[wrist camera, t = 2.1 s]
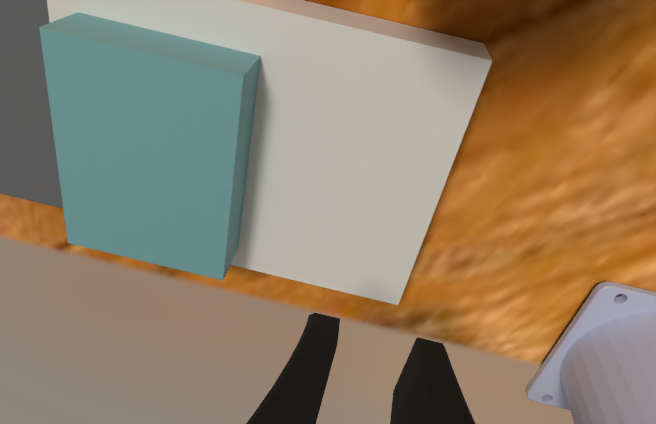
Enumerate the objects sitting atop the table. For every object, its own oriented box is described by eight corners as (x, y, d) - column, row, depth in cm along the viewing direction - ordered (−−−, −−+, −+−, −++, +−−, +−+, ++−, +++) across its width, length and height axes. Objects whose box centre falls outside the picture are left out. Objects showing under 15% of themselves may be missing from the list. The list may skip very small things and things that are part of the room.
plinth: (484, 43, 17) (492, 61, 15) (398, 274, 23) (398, 305, 21) (77, -54, 17) (40, -47, 15) (98, 202, 23) (74, 227, 21)
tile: (260, 55, 16) (243, 75, 14) (238, 247, 20) (222, 280, 19) (78, 12, 16) (39, 27, 14) (95, 213, 20) (67, 242, 19)
